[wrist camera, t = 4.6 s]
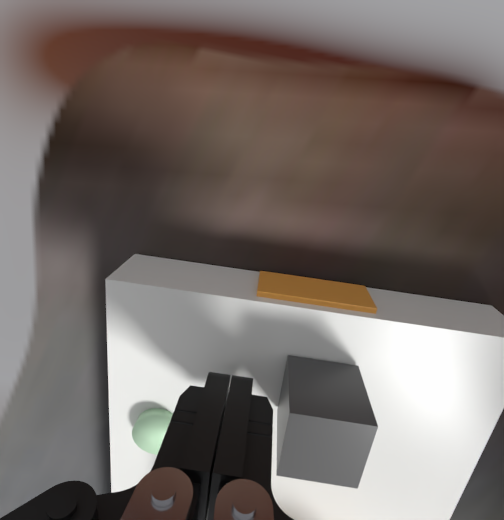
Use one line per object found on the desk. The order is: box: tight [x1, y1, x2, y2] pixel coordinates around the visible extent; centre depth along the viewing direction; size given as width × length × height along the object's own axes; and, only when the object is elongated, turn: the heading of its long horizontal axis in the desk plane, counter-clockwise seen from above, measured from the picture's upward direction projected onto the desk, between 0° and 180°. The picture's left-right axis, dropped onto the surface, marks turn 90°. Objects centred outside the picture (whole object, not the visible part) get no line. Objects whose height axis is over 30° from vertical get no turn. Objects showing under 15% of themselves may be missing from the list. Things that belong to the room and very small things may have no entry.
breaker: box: [276, 355, 378, 489], centre depth 11 cm, size 2×2×3 cm
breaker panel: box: [105, 254, 504, 520], centre depth 16 cm, size 14×19×3 cm
